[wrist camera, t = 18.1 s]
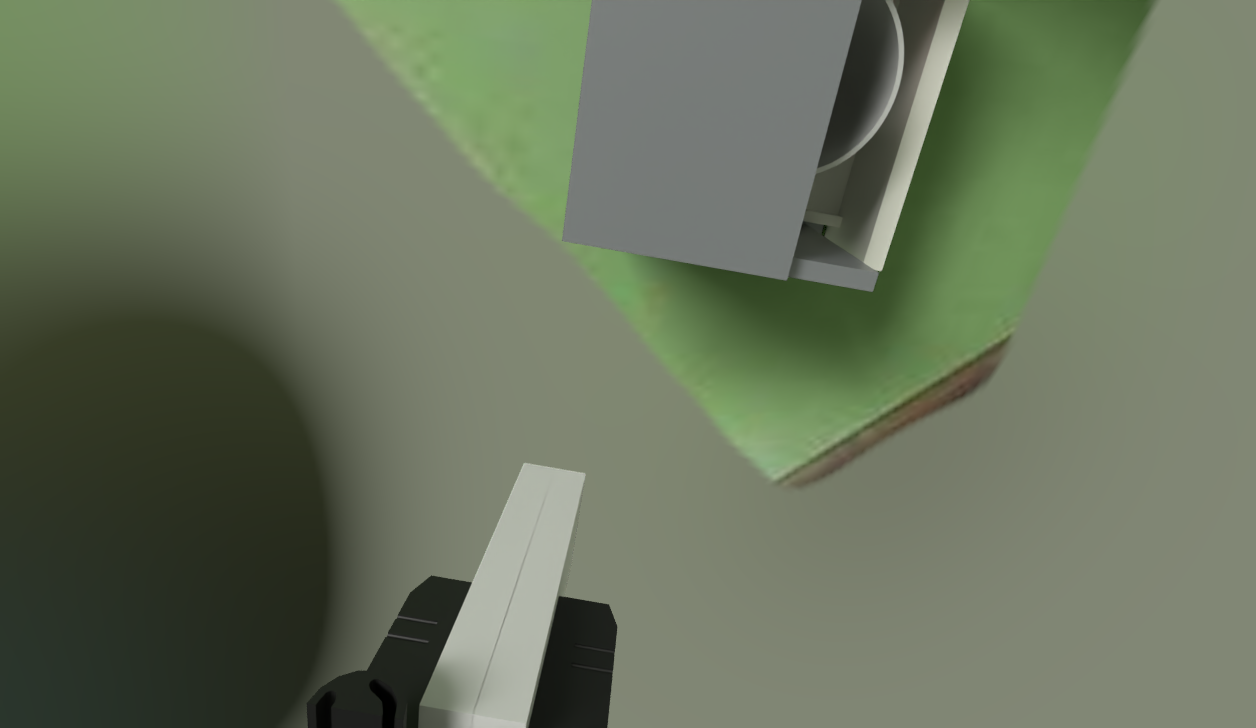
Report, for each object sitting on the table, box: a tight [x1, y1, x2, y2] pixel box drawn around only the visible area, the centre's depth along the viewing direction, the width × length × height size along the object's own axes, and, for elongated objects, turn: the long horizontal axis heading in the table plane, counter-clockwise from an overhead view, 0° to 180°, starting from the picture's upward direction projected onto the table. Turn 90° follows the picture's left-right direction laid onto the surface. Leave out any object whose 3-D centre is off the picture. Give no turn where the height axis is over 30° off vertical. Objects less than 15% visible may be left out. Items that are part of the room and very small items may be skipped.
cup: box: [816, 0, 904, 174], centre depth 28 cm, size 8×8×10 cm
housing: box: [562, 0, 879, 292], centre depth 28 cm, size 14×15×15 cm
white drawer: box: [803, 0, 969, 271], centre depth 31 cm, size 14×15×8 cm
